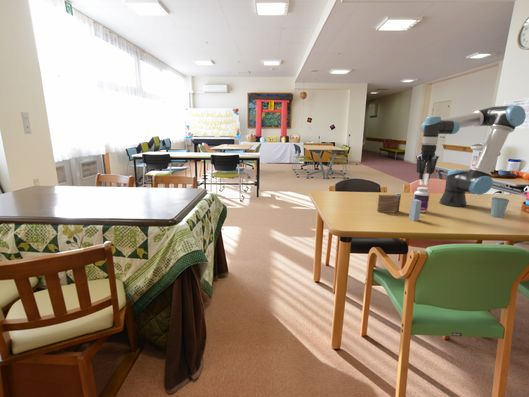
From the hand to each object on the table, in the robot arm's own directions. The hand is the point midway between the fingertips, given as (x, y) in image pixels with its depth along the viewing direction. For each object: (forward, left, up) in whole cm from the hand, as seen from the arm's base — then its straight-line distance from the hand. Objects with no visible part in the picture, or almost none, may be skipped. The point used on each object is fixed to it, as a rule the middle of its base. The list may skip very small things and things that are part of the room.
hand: (423, 184), depth 173 cm
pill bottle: (0, 0, -17) cm, 17 cm away
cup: (-39, +15, -17) cm, 45 cm away
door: (+20, -1, -16) cm, 26 cm away
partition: (+15, +7, -16) cm, 23 cm away
